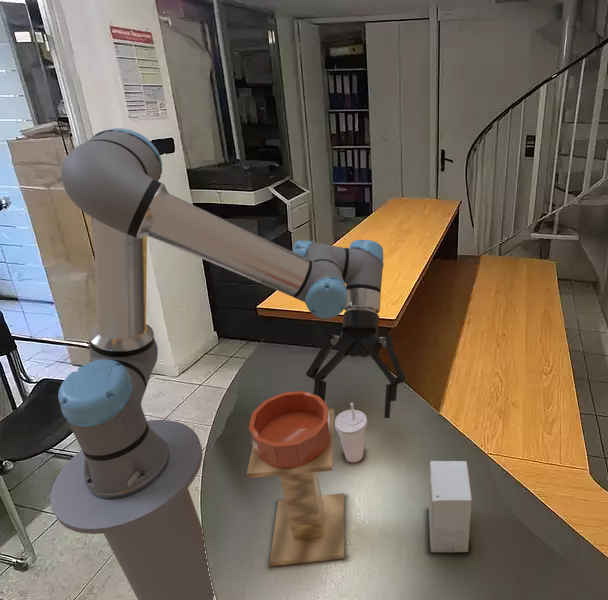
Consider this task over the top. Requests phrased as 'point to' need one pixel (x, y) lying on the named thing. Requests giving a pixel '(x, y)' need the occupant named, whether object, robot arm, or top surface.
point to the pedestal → (304, 511)
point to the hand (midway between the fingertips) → (353, 416)
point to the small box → (449, 506)
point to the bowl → (290, 429)
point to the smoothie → (352, 433)
